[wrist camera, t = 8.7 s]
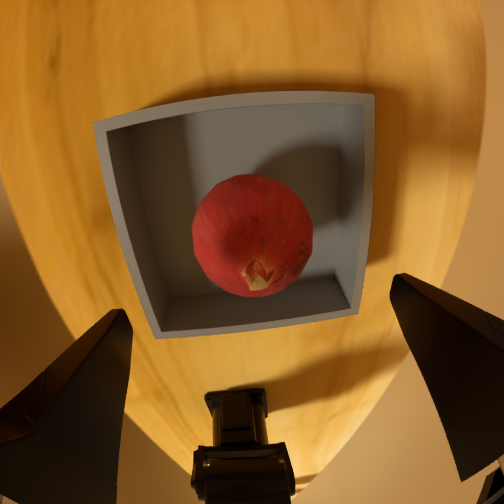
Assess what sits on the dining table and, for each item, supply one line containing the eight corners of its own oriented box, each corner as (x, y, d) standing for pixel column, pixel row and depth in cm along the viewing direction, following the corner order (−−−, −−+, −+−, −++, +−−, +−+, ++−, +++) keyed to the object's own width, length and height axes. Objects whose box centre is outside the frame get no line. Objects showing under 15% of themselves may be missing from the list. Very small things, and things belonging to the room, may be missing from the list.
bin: (336, 276, 21) (358, 313, 17) (165, 297, 21) (155, 339, 17) (339, 95, 15) (374, 94, 11) (124, 117, 14) (93, 122, 10)
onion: (309, 183, 17) (369, 241, 10) (272, 262, 19) (298, 352, 12) (217, 147, 15) (210, 181, 8) (186, 235, 17) (165, 322, 10)
